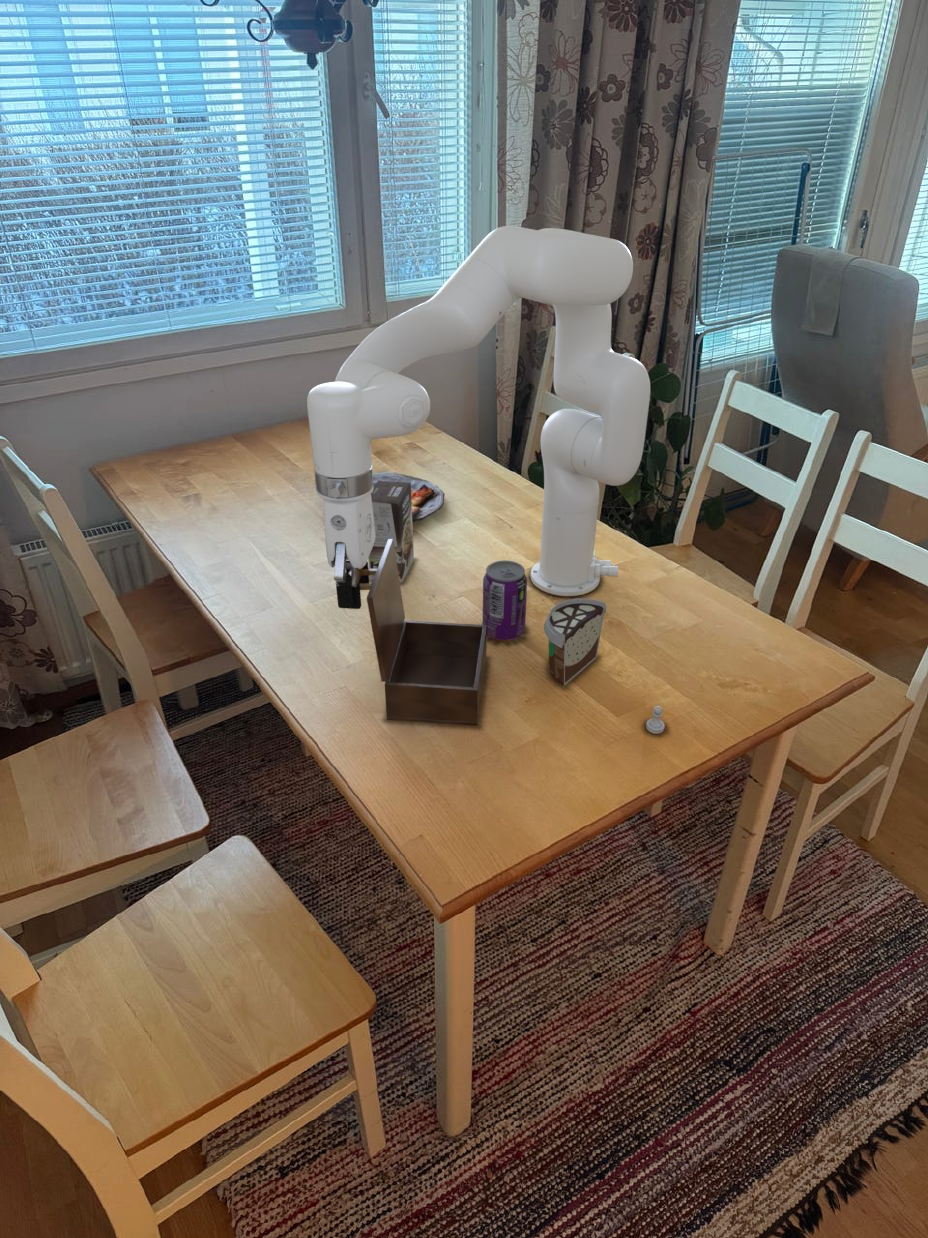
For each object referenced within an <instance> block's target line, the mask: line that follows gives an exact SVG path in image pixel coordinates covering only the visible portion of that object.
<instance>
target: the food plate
mask: <svg viewBox="0 0 928 1238" xmlns="http://www.w3.org/2000/svg"><path fill="white" fill-rule="evenodd" d="M372 474H373V488H374V486H375V485H376V483H377V482H378V481H387V482H390V481H391V482H407V483H411V501H412V523H414V522H419V521H422V520H424V519H426V518H427V517H429V516H431V515H432V514H434V513H437V511H439V510H440V509H442V507H443V506H444V505H445V492H444V491H443V490H442V489H441V488H439V486H438V485H436V484H434V483H432V482H431V481H430V480H427V479H422V478H419V477H414V476H412V475H406V474H402V473H397V472H384V471H383V472H374V473H372Z"/></svg>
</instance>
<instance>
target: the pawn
mask: <svg viewBox="0 0 928 1238" xmlns="http://www.w3.org/2000/svg"><path fill="white" fill-rule="evenodd" d="M652 711H653V712H652V716H653V718H650V719H647V721H646V723H645V727H646V730H647V731H648V732H649V733H651V734H656V735H658V734H661V733H663V732H664V730H665V727H666V725H665V723H664V721H663V720H661V717H662V715H663V707H661V706H660V705H656V706H654V708H653V710H652Z"/></svg>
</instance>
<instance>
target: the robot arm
mask: <svg viewBox="0 0 928 1238" xmlns="http://www.w3.org/2000/svg"><path fill="white" fill-rule="evenodd" d="M633 274H634V261H633V256H632V254H631V251H630V250H629V248H628V247H627V246H626V244H624V243H623V242H621V241H620V240H618V239H615V238H610V237H606V236H601V235H596V234H589V233H585V232H581V231H577V230H570V229H564V228H558V227H557V228H556V227H546V228H541V229H532V228H527V227H521V226H516V225H503V226H499V227H497V228H495V229H493V230H492V231H490V232H489V233H488V234H487V235H486V236H485V237H484V238H483V239H482V240H481V242H479V244H478V245H477V246H476V247H475V248H474V249H473V251H471V253H469V255H468V256H467V258H466V259H465V260H464V261H463V262H462V263H461V264H460V266H459V267H458V268H457V269H456V270H455V271H454V272H453V273H452V275H451V276H449V278H448V279H447V280H446V281H445V282H444V283H443V285H442V286H441V287H440V288H439V290H438V291H437V292H436V293H435V294H434V295H433V296H432V297H431V298H430V299H428V300H426V301H424V302H422V303H420V304H418V305H416V306H413V307H412V308H410V309H408V310H406V311H404V312H402V313H400V314H398V315H397V316H394V317H392V318H391V319H389V320H388V321H386V322H384V323H382V324H381V325H379V326H378V327H376V328H375V329H373V331H372V332H370V333H369V334H368V335H367V336H366V337H365V338H364V339H363V340H362V341H361V342H360V344H359V345H358V346H357V347H356V348H355V349H354V350H353V351H352V353H351V354H350V355H349V356H348V357H347V358H346V360H345V361H344V363H343V364H342V365H341V367H340V369H339V371H338V373H337V374H336V377H335V380H334V381H329V382H323V383H321V384H317V385H316V386H314V387H312V389H311V390H310V391H309V392H308V394H307V397H306V405H307V417H308V423H309V424H308V426H309V435H310V437H309V438H310V446H311V456H312V465H313V473H314V482H315V483H314V484H315V490H316V491H315V492H316V495H317V496H318V497H319V498H321V499H323V524H324V525H323V526H324V538H325V550H326V558H327V564H328V565H329V567H331V568H334V572H333V580H334V581H335V588H336V589H335V590H336V598H337V599H336V600H337V606H338V608H339V609H347V610H348V609H350V610H360V609H361V607H362V597H361V590H360V584H363V583H370V575H361V578H360V580H359V583H357V568H359V569H369V555H370V553H371V550H372V547H373V545H374V542H375V524H374V516H373V507H372V499H371V493H372V492H373V474H374V473H373V460H372V459H373V458H372V443H371V441H373V440H378V439H388V438H398V437H405V436H407V435H410V434H412V433H414V432H416V431H418V430H420V428H421V427H422V426H423V425H424V424H425V423H426V422H427V420H428V418H429V415H430V412H431V398H430V396H429V393H428V392H427V390H426V389H425V388H424V386H422V384H420V383H419V382H417V381H416V380H414V379H412V378H410V377H407V376H406V375H403V374H400V373H401V371H402V370H404V369H405V368H407V367H408V366H410V365H411V364H413V363H415V362H418V361H420V360H423V359H426V358H429V357H433V356H438V355H445V354H450V353H457V352H462V351H466V350H470V349H473V348H475V347H477V346H478V345H479V344H481V342H482V341H483V340H484V339H485V337H487V335H488V334H489V333H490V332H491V330H492V329H493V328H494V326H495V325H496V324H497V323H498V322H499V321H500V320H501V319H502V317H503V316H504V315H505V314H506V312H507V311H508V310H510V308H512V306H513V305H514V304H515V302H516V301H518V300H519V299H525V300H529V301H534V302H538V303H541V304H545V305H552V308H553V310H554V317H555V339H554V357H553V359H554V360H553V378H552V379H553V389H554V393H555V395H556V397H557V398H558V399H559V400H561V401H562V402H564V403H566V404H569V405H571V406H573V407H576V408H578V409H575V408H562V409H559V410H557V411H555V412H553V413H552V414H551V415H549V416H548V417H547V419H546V420H545V422H544V424H543V426H542V430H541V432H540V451H541V459H542V466H543V483H544V484H543V501H542V519H541V534H540V535H541V536H540V550H539V551H540V553H539V561H538V562H536V563H535V564H534V565H533V566H532V567H531V569H530V581H531V582H532V584H533V585H534V586H535V587H536V588H537V589H539V590H541V591H542V592H545V593H547V594H550V595H554V596H557V597H558V596H560V597H577V596H583V595H586V594H589V593H590V592H593V591H594V590H596V588H597V587H598V586H599V584H600V581H601V576H602V577H603V576H606V577H615V578H617V577H619V576H618V575H619V566H618V565H612V560H608V559H599V558H596V554H595V552H596V551H595V543H596V533H597V524H598V523H597V522H598V514H599V513H598V512H599V504H600V503H599V502H600V485H599V483H602V484H604V485H607V486H612V487H613V486H614V487H617V486H622V485H625V484H627V483H628V482H629V481H631V480H632V478H634V476H635V475H636V473H637V472H638V470H639V467H640V464H641V462H642V458H643V454H644V447H645V440H646V432H647V431H646V430H647V423H648V415H649V408H650V400H651V379H650V376H649V373H648V371H647V369H646V367H645V365H644V364H643V363H642V362H640V361H639V360H638V359H636V358H635V357H631V356H629V355H625V354H622V353H619V352H615V351H614V350H613V349H612V320H613V319H612V317H613V315H612V314H613V313H612V307H611V306H612V305H611V304H612V303H614V302H616V301H617V300H619V299H620V298H621V297H622V296H623V295H624V293H626V291H627V290H628V288H629V286H630V284H631V282H632V279H633V278H632V277H633ZM580 409H581V410H580ZM589 412H590V413H589ZM350 569H351V576H350V574H348V573H349V571H350Z"/></svg>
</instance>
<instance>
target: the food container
mask: <svg viewBox="0 0 928 1238" xmlns="http://www.w3.org/2000/svg"><path fill="white" fill-rule="evenodd" d="M606 613H607V605H606V602H605V601H601V600H598V599H593V598H571V599H567V600H564V601H560V602H559V603H557V604H555V605H554V606H553V607H552V608H551V609H550V610H549V612H548V613H547V616H546V618H545V621H544V625H543V632H544V634H545V637H546V638H547V639H548V666H549V667H548V668H549V674H550V677H551V678H552V679H553V680H554V681H555V682H556V683H558V684H559V685H561V686H562V687H565V686H566V685H567V684H569V682H570V681H572V680H573V679H574V678H576V677H577V675H579V674H580V673H581V672H582V671H584V670H585V669H586V668H587V667H588V666H589V665H590V664H591V663H593V662H594V661H595V660H596V659H597V658H598V652H599V646H600V640H601V634H602V628H603V621H604V618H605V617H604V615H605V614H606Z"/></svg>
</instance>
